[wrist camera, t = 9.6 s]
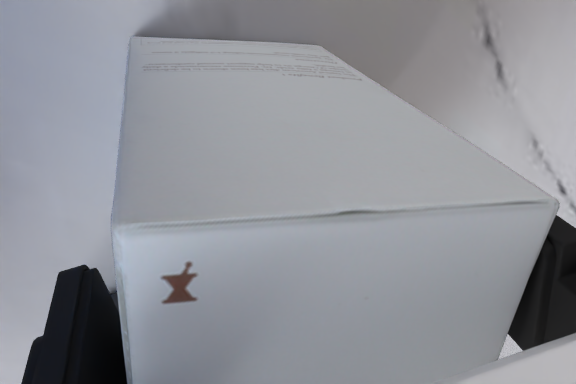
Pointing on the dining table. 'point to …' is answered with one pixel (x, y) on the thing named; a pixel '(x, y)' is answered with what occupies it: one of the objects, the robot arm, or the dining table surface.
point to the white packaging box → (306, 224)
